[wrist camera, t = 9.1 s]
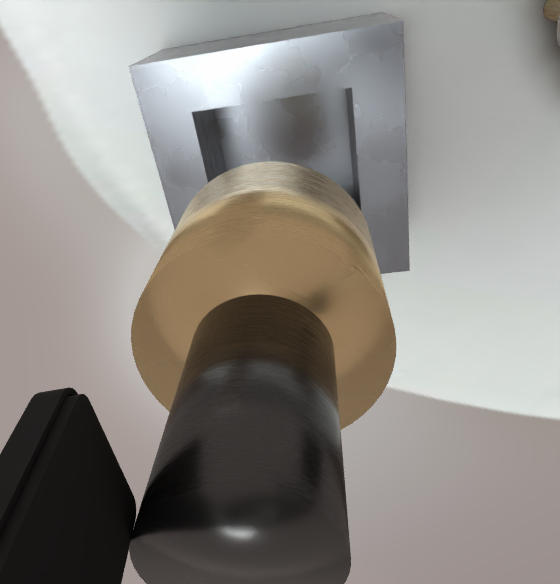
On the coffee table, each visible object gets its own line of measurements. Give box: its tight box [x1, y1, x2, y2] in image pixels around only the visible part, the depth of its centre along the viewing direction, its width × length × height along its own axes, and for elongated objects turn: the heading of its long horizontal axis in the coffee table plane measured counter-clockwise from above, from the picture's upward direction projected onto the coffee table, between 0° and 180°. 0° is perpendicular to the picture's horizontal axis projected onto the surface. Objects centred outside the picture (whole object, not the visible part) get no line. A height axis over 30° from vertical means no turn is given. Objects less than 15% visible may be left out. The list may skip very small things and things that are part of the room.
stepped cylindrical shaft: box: [129, 161, 396, 584], centre depth 14 cm, size 7×7×12 cm
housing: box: [129, 13, 410, 274], centre depth 30 cm, size 13×13×7 cm
